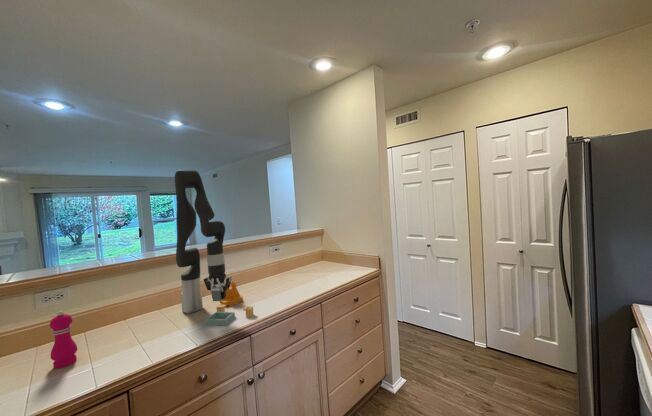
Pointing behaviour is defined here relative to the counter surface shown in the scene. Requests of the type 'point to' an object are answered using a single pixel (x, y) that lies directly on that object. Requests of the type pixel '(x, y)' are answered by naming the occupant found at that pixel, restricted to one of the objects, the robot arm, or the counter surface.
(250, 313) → the clip right
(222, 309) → the clip left
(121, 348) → the counter surface
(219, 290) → the block
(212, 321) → the tray
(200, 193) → the robot arm
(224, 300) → the bracket
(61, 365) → the pepper mill
